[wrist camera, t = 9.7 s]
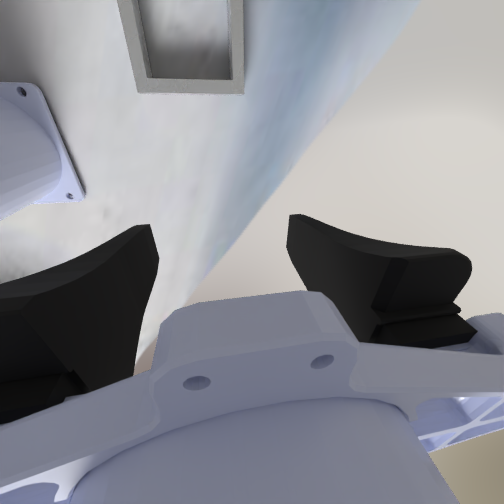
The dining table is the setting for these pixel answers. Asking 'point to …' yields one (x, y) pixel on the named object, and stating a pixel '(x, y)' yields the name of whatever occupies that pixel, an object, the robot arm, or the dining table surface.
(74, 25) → the dining table surface
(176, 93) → the zinc tray
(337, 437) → the robot arm
